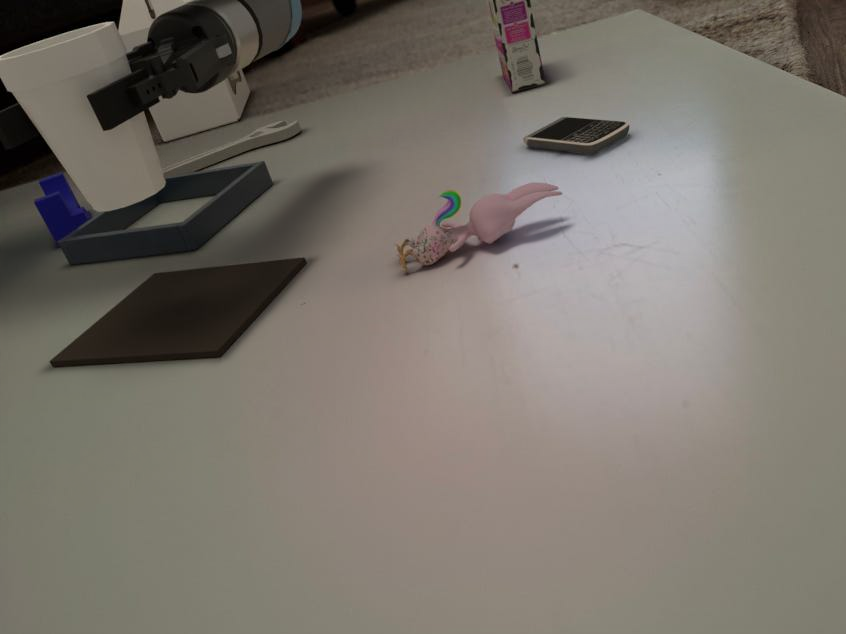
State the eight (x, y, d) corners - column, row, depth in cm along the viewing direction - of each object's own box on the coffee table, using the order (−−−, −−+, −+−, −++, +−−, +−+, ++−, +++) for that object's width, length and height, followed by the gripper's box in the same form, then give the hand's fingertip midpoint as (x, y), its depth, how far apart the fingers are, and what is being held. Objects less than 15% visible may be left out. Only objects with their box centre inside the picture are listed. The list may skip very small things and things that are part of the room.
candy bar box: (548, 84, 112) (522, -48, 104) (512, 94, 113) (483, -37, 104) (535, 67, 122) (510, -55, 114) (502, 76, 122) (474, -45, 114)
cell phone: (595, 158, 85) (593, 144, 84) (521, 149, 93) (518, 136, 92) (635, 134, 87) (633, 121, 87) (560, 128, 95) (557, 115, 95)
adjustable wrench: (134, 196, 117) (128, 184, 116) (132, 185, 122) (126, 174, 121) (303, 134, 122) (298, 122, 121) (294, 126, 127) (289, 115, 127)
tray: (69, 265, 97) (56, 241, 96) (158, 200, 111) (148, 179, 110) (195, 250, 91) (184, 225, 89) (273, 183, 105) (264, 160, 103)
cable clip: (94, 234, 105) (71, 189, 102) (58, 247, 104) (33, 202, 101) (94, 209, 115) (73, 168, 112) (61, 221, 114) (39, 180, 111)
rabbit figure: (413, 295, 71) (575, 219, 70) (382, 235, 68) (550, 155, 67) (408, 266, 77) (558, 195, 76) (378, 209, 74) (534, 135, 73)
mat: (52, 366, 74) (48, 361, 74) (156, 278, 86) (154, 273, 86) (220, 356, 68) (217, 350, 67) (306, 262, 80) (304, 256, 80)
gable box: (239, 121, 140) (167, -61, 126) (163, 143, 140) (82, -36, 126) (250, 92, 159) (189, -69, 145) (183, 111, 159) (115, -47, 145)
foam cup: (116, 182, 77) (44, 37, 71) (202, 166, 74) (135, 13, 68) (53, 227, 70) (-34, 69, 63) (146, 210, 67) (65, 44, 60)
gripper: (313, 62, 80) (184, 149, 62) (131, 100, 88) (-28, 186, 70) (285, -21, 76) (139, 46, 59) (97, 26, 84) (-81, 98, 67)
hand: (48, 123), depth 64 cm, fingers closed on foam cup, 9 cm apart
